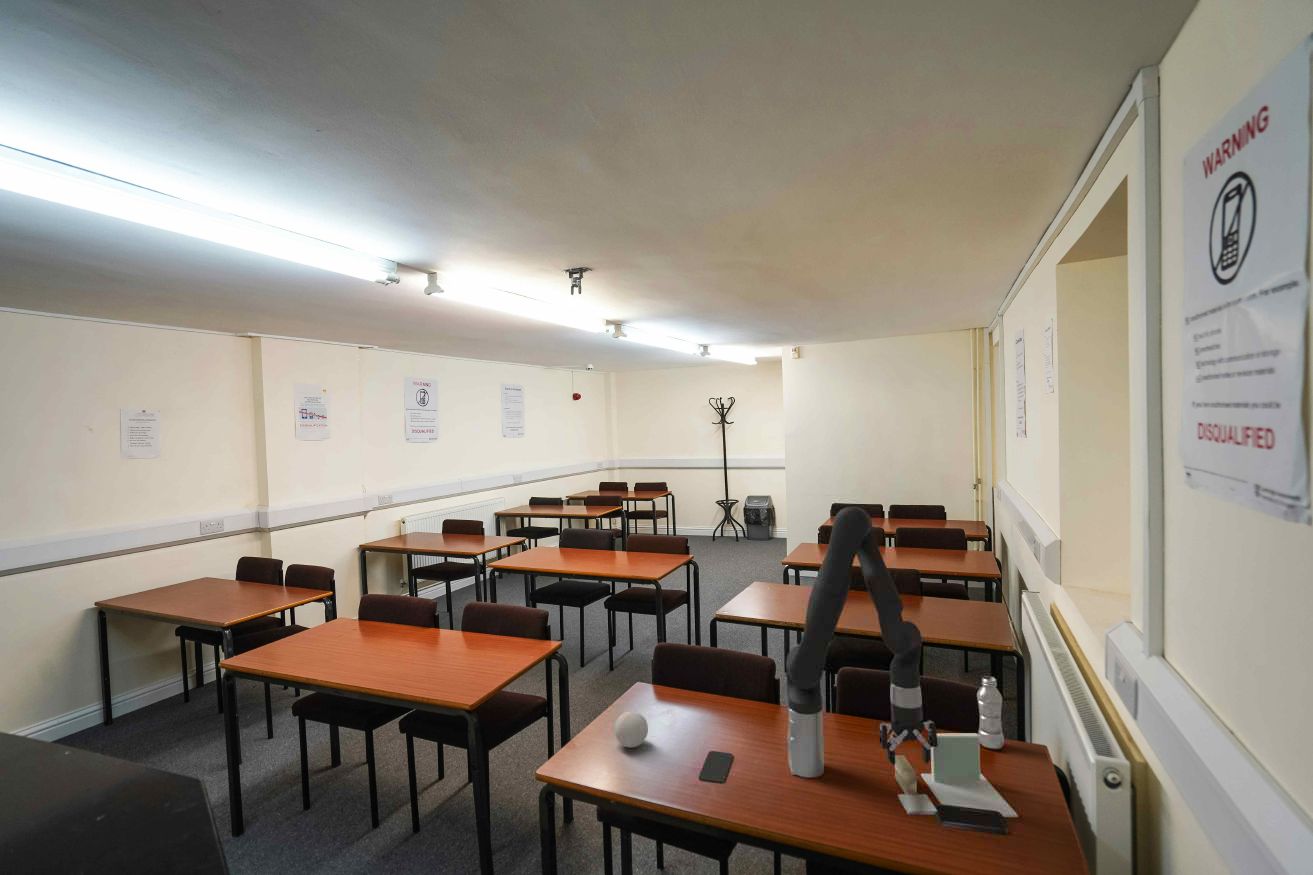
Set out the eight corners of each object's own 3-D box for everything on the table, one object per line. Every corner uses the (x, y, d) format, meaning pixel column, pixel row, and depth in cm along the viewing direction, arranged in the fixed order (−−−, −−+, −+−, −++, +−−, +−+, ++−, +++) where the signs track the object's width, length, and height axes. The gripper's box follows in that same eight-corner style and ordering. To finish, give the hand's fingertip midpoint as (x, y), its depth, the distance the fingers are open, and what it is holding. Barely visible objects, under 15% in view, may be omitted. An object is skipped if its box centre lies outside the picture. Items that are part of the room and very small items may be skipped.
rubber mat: (949, 816, 146) (949, 815, 146) (920, 774, 164) (920, 773, 164) (1018, 816, 145) (1018, 815, 145) (981, 774, 163) (981, 773, 163)
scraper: (908, 814, 147) (907, 789, 147) (886, 777, 163) (885, 755, 163) (937, 814, 147) (936, 789, 147) (912, 777, 163) (912, 754, 163)
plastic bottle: (1007, 753, 174) (1005, 683, 174) (982, 751, 175) (980, 682, 175) (999, 741, 180) (998, 674, 180) (975, 740, 181) (973, 673, 181)
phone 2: (1010, 831, 139) (938, 822, 143) (1010, 836, 139) (939, 826, 143) (1000, 810, 146) (933, 802, 150) (1000, 815, 146) (933, 806, 150)
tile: (934, 781, 160) (933, 736, 160) (931, 778, 161) (930, 733, 161) (980, 781, 159) (979, 736, 159) (977, 778, 161) (976, 733, 161)
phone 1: (697, 778, 164) (709, 750, 178) (697, 781, 164) (709, 752, 178) (724, 782, 162) (734, 753, 176) (724, 785, 162) (734, 756, 176)
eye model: (625, 734, 190) (624, 703, 190) (654, 741, 186) (653, 708, 186) (609, 749, 181) (608, 716, 181) (639, 756, 177) (638, 722, 177)
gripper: (883, 707, 154) (886, 771, 154) (940, 705, 154) (943, 769, 154) (873, 695, 161) (876, 755, 161) (927, 693, 161) (930, 753, 161)
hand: (909, 762), depth 157 cm, fingers open, 8 cm apart
